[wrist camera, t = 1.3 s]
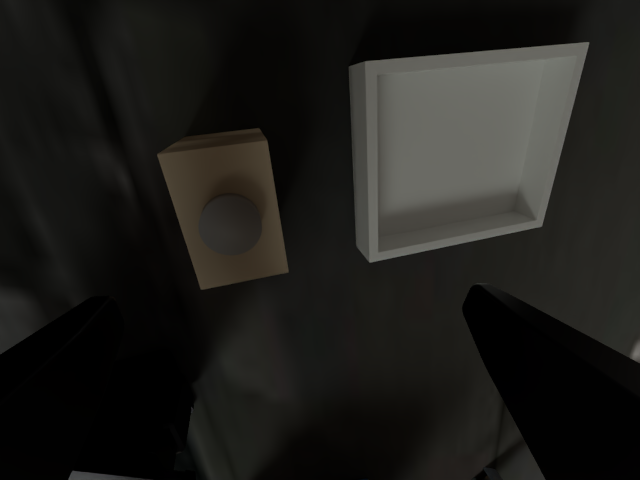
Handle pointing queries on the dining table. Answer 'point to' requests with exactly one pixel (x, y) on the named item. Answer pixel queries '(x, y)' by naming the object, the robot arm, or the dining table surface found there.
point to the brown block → (226, 205)
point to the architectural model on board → (491, 474)
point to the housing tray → (457, 144)
